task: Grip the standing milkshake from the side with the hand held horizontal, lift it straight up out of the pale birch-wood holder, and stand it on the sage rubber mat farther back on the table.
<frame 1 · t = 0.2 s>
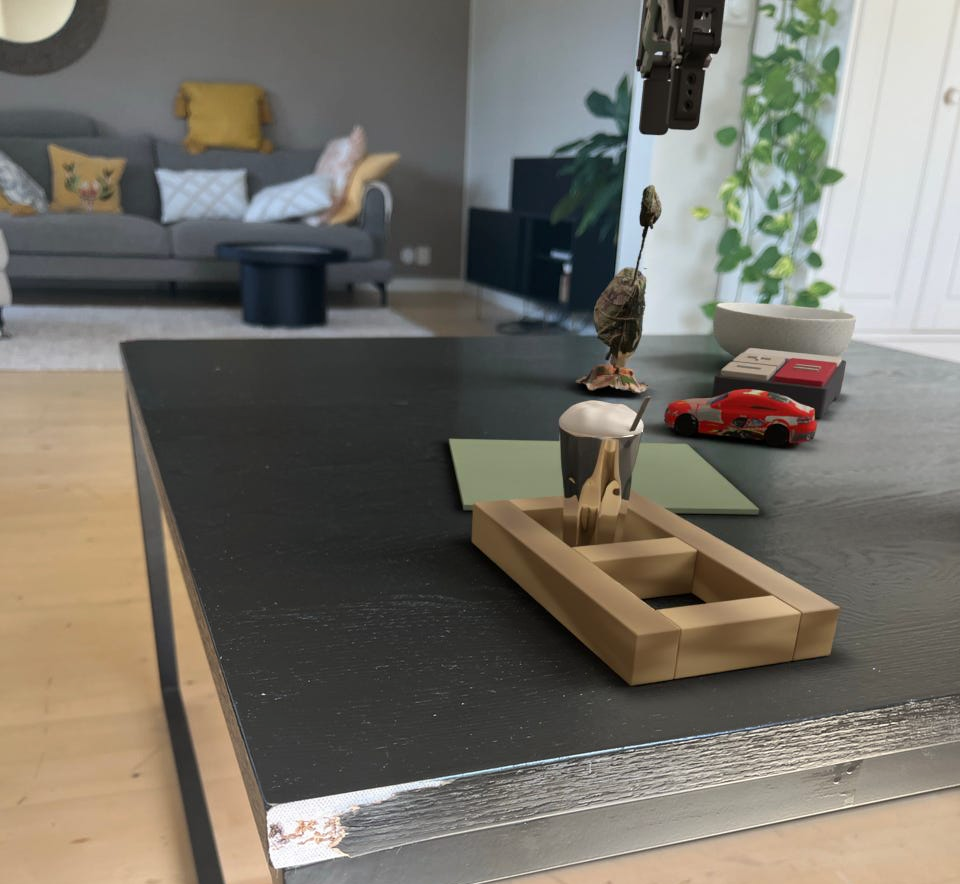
hand: (666, 132, 73), 24 cm above the table, tool pointing down, fingers open, 8 cm apart
plant with pod: (611, 390, 106), on the table
race car: (736, 438, 88), on the table
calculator: (777, 401, 104), on the table
holder: (629, 592, 53), on the table
mat: (588, 475, 74), on the table
cereal bowl: (774, 370, 123), on the table
milkshake: (593, 567, 56), on the table
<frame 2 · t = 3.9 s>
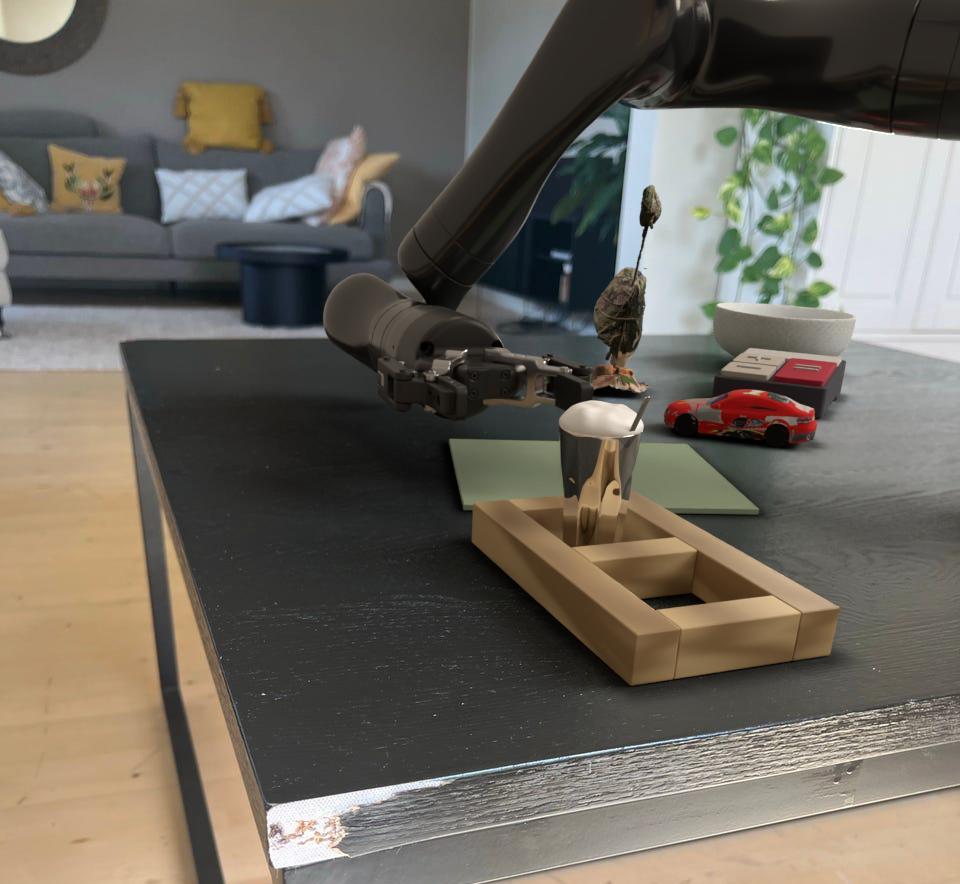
hand: (525, 402, 62), 7 cm above the table, tool horizontal, fingers open, 8 cm apart
nothing on the table moved.
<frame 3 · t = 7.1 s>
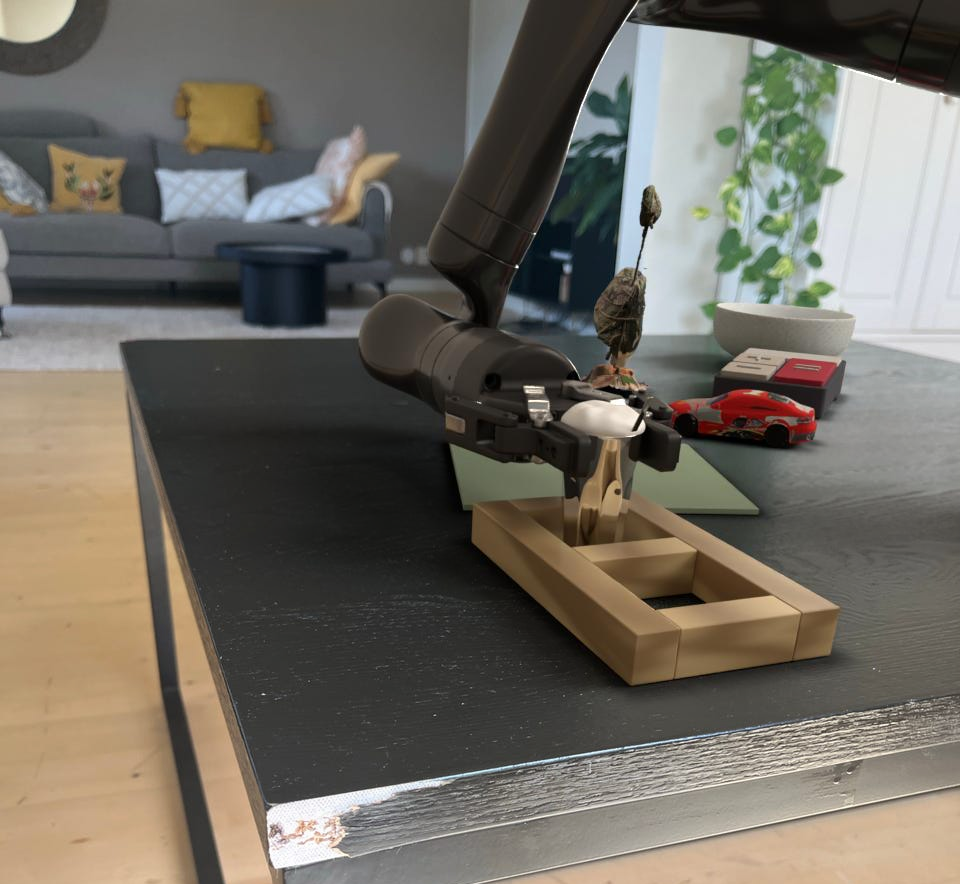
hand: (628, 455, 51), 7 cm above the table, tool horizontal, fingers closed on milkshake, 4 cm apart
milkshake: (592, 567, 56), on the table, touching gripper
everything else where it was.
when the fingers open (7 cm above the table, at t = 14.0 s): milkshake stays where it is, resting on mat.
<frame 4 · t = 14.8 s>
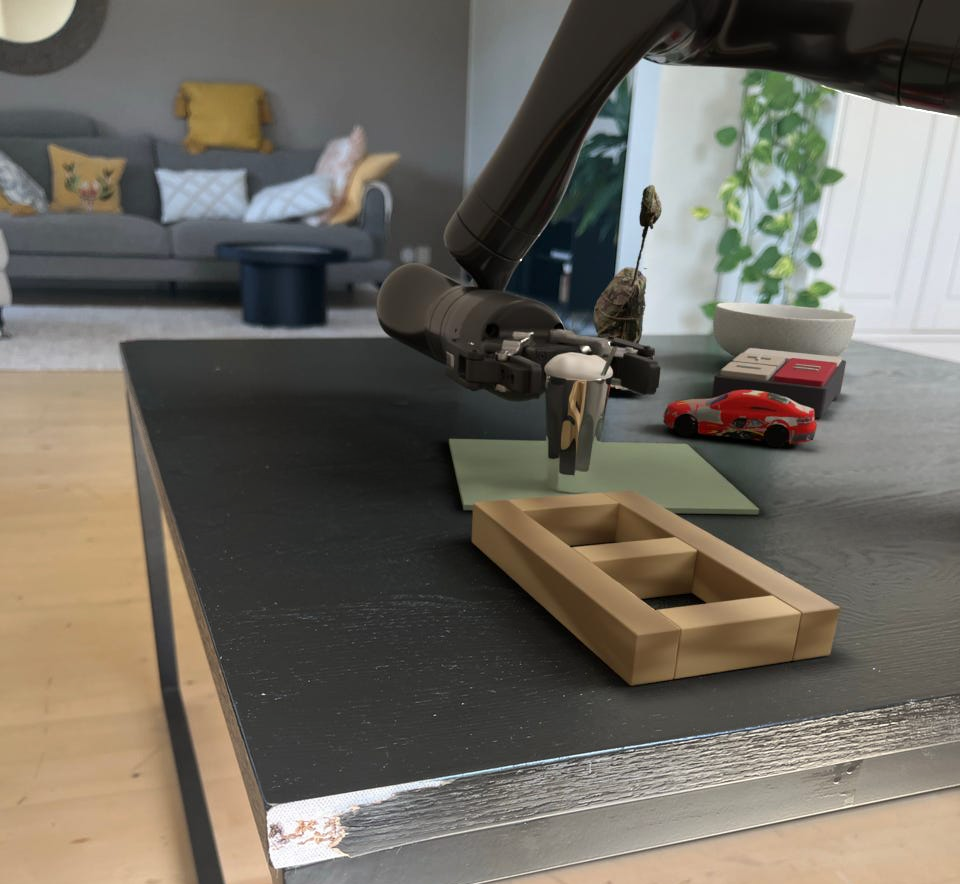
hand: (596, 381, 64), 8 cm above the table, tool horizontal, fingers open, 8 cm apart
milkshake: (572, 491, 69), resting on mat
everything else where it was.
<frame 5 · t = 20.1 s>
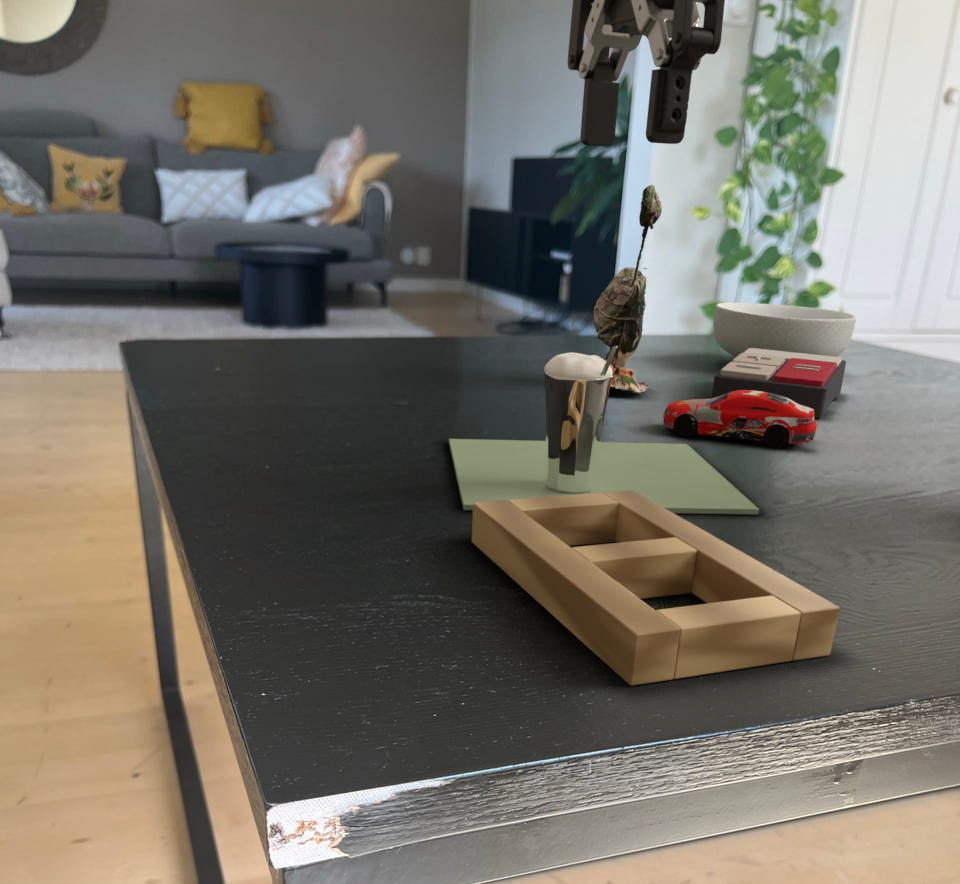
hand: (628, 144, 62), 22 cm above the table, tool pointing down, fingers open, 8 cm apart
nothing on the table moved.
at the end: milkshake inside the target area on the mat (0.9 cm from its centre), point 0.2 cm above the mat's base; milkshake tilted 0°; milkshake touching mat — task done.
